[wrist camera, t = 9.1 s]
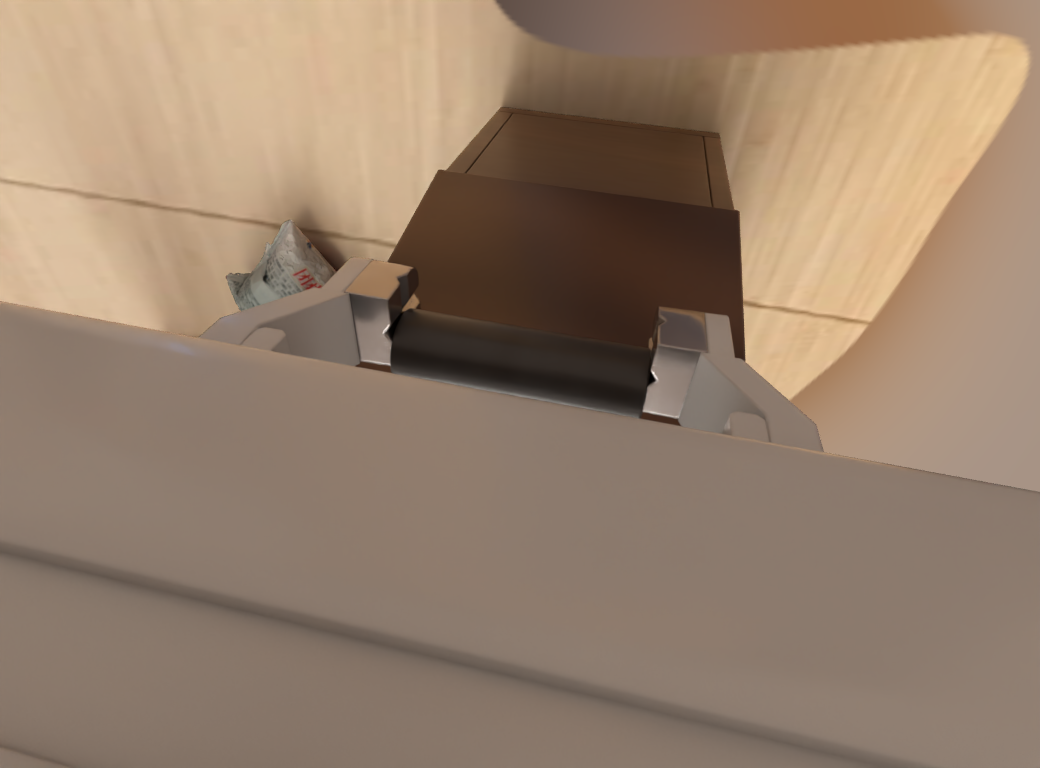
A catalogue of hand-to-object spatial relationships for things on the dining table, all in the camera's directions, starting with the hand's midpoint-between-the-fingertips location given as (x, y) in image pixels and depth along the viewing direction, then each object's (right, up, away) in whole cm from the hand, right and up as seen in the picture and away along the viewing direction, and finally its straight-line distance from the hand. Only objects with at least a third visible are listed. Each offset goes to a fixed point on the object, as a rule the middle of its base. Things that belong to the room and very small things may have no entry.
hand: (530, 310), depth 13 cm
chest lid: (+1, 0, +6) cm, 6 cm away
